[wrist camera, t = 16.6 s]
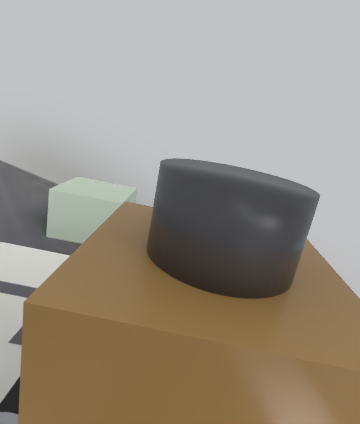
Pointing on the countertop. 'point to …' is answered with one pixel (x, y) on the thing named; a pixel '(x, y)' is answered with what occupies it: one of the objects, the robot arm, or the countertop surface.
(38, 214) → the countertop surface
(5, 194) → the countertop surface
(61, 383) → the reagent bottle
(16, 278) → the letter
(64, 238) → the sage block
